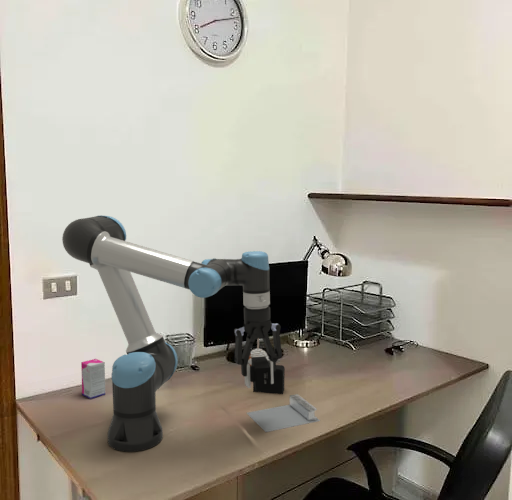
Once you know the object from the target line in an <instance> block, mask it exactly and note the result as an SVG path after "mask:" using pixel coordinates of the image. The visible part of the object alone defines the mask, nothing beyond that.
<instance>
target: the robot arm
mask: <svg viewBox="0 0 512 500" xmlns="http://www.w3.org/2000/svg"><path fill="white" fill-rule="evenodd" d="M61 238H62V239H61V240H62V245H63V248H64V250H65V252H66V253H67V254H68V255H69V256H70V257H71V258H73V259H75V260H78V261H81V262H84V263H87V264H89V266H90V268H92V269H94V270H97V272H98V274H99V277H100V279H101V282H102V285H103V286H104V288H105V291H106V293H107V296H108V298H109V300H110V303H111V306H112V308H113V310H114V313H115V316H116V317H117V320H118V323H119V324H120V327H121V329H122V332H123V334H124V337H125V339H126V342H127V348H126V350H125V352H126V354H122V355H121V356H119V357H117V358H116V359H115V360H114V362H113V363H112V367H111V384H112V386H111V387H112V406H113V410H112V411H113V412H112V413H113V414H112V418H111V422H110V424H109V427H108V431H107V444H108V446H109V447H110V448H111V449H114V450H117V451H120V452H131V453H132V452H139V451H145V450H149V449H151V448H153V447H155V446H156V445H158V444H159V443H161V441H162V440H163V436H164V435H163V426H162V424H161V421H160V419H159V415H158V412H157V403H156V402H157V399H156V397H157V396H156V395H157V394H156V392H157V390H159V389H160V388H161V387H162V386H163V385H165V383H166V382H168V381H169V380H170V379H171V378H172V376H173V375H174V373H175V372H176V370H177V367H178V362H179V361H178V359H179V358H178V354H177V351H176V350H175V348H174V347H173V346H172V345H171V344H170V343H167V342H166V340H165V339H164V336H163V335H162V334H160V333H158V332H156V331H155V328H154V325H153V323H152V320H151V318H150V315H149V313H148V312H147V309H146V306H145V303H144V301H143V299H142V297H141V295H140V293H139V290H138V287H137V285H136V283H135V281H134V280H135V279H134V278H133V275H132V274H131V273H133V274H137V275H140V276H143V277H147V278H149V279H153V280H157V281H160V282H164V283H166V284H170V285H173V286H176V287H179V288H182V289H187V290H189V291H190V292H191V293H192V294H193V295H194V296H196V298H202V299H203V298H204V299H205V298H209V297H212V296H213V295H215V294H217V293H218V292H219V291H220V290H221V289H223V288H224V287H225V286H239V287H240V286H242V293H243V294H242V296H243V297H242V298H243V303H242V304H243V306H244V307H243V320H244V321H243V325H242V327H239V328H234V329H233V332H234V336H235V341H234V342H235V344H234V345H235V346H234V362H235V363H236V365H240V366H241V367H240V368H241V370H240V371H241V375H242V376H243V377H244V386H246V388H247V389H251V386H252V385H251V384H252V382H251V381H250V365H249V363H248V360H249V356H250V353H251V351H252V350H253V345H254V343H255V341H256V340H257V339H258V338H259V339H262V341H263V345H264V347H265V349H266V353H267V356H268V357H269V359H267V361H268V363H269V365H270V368H271V384H274V378H273V371H276V365H277V362H278V359H281V358H282V357H283V353H282V344H281V343H282V342H281V334H280V332H281V328H282V327H281V325H280V324H279V323H277V322H276V323H272V321H271V307H270V305H271V294H270V293H271V292H270V291H271V289H270V265H269V264H270V263H269V262H270V261H269V255H268V253H267V252H265V251H260V250H259V251H258V250H257V251H255V250H253V251H245V252H243V253H242V254H241V258H237V259H232V258H228V259H227V258H215V257H214V258H207V259H204V260H202V261H201V263H200V262H197V261H194V260H191V259H187V258H183V257H180V256H176V255H173V254H169V253H167V252H163V251H160V250H156V249H153V248H149V247H147V246H143V245H139V244H136V243H133V242H129V241H127V231H126V229H125V227H124V225H123V223H122V222H120V220H118V219H117V218H116V217H113V216H109V215H95V216H90V217H86V218H78V219H75V220H73V221H71V222H70V223H68V225H67V226H66V227H65V229H64V230H63V233H62V237H61ZM270 330H271V332H272V340H273V346H272V342H271V340H270V336H269V332H270ZM244 332H245V334H246V339H245V340H246V341H245V344H244V348H243V336H244Z"/></svg>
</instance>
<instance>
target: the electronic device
mask: <svg viewBox="0 0 512 500" xmlns="http://www.w3.org/2000/svg"><path fill="white" fill-rule="evenodd" d="M285 369H286V368H285V366H284V365H282V364H281V365H280V364H276V371H273V378H274V384H271V391H267V392H261V393H264V394H274V395H283V394H284V392H285ZM252 385H253V386H252V392H253V393H257V392H256V390H255V387H254V384H253V383H252Z"/></svg>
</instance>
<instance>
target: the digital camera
mask: <svg viewBox="0 0 512 500" xmlns="http://www.w3.org/2000/svg"><path fill="white" fill-rule="evenodd" d="M251 361H252V366H250V382H251V383H252V385H253V384H254V387H255V390H256V392H255V393H262V392H267V391H271V368H270V365H269V363H268V361H267V359H266V357H252V358H251Z"/></svg>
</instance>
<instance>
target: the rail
mask: <svg viewBox="0 0 512 500" xmlns="http://www.w3.org/2000/svg"><path fill="white" fill-rule="evenodd" d="M289 405H290V407H291V408H293V409H294V410H295V411H296V412H297V413H299V414H300V415H301V416H302V417H304V418H305V419H306V420H307V421H313V420H317V418H318V417H317V416H316V415H315V412H317V410H318V409H317V407H316V406H314V405H313V404H311V402H309V401H308V400H306V399H305V398H304V397H302V396H301V395H299V394H298V393H297V394H296V393H295V394H291V395H289Z"/></svg>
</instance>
